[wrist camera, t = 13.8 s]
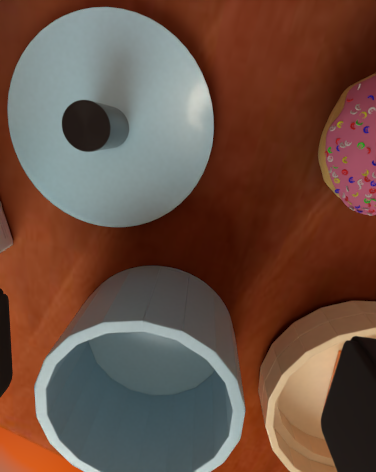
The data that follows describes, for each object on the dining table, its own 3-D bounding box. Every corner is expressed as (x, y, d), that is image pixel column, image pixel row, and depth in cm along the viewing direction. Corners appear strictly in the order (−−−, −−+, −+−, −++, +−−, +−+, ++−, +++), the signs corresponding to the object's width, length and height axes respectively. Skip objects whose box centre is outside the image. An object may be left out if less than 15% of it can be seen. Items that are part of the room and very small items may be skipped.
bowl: (395, 261, 26) (432, 287, 22) (474, 401, 30) (519, 446, 26) (223, 355, 30) (226, 392, 25) (312, 469, 33) (327, 520, 29)
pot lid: (131, -40, 21) (103, -103, 15) (252, 153, 24) (266, 159, 19) (-25, 102, 24) (-95, 93, 19) (101, 256, 28) (73, 289, 22)
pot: (173, 233, 27) (159, 278, 18) (263, 356, 30) (284, 441, 21) (50, 315, 29) (-10, 385, 21) (143, 419, 32) (122, 514, 24)
